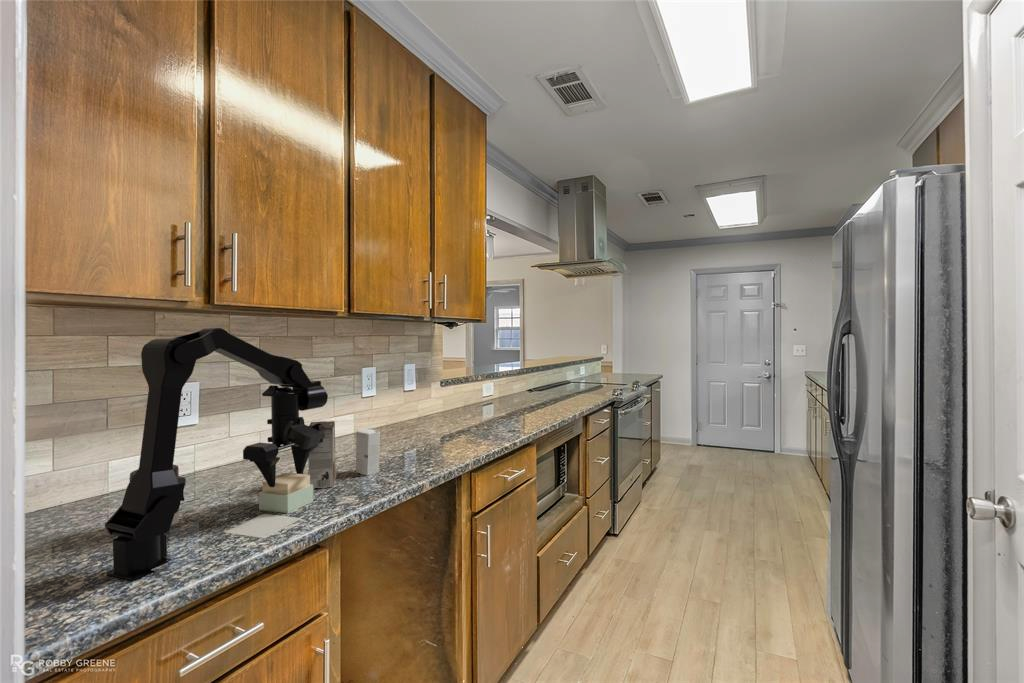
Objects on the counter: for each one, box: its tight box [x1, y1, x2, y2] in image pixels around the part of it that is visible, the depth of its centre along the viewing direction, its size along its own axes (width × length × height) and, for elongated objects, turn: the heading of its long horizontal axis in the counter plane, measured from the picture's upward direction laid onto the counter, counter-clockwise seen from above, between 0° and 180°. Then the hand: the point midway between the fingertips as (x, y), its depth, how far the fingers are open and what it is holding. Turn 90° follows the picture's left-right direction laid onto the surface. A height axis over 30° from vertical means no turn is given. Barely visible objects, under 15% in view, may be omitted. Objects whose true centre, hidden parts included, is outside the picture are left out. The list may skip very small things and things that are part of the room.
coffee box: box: [307, 420, 337, 490], centre depth 124 cm, size 9×6×16 cm
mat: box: [224, 513, 302, 539], centre depth 96 cm, size 10×10×1 cm
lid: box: [262, 472, 310, 495], centre depth 107 cm, size 7×7×2 cm
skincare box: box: [355, 428, 381, 477], centre depth 134 cm, size 6×4×12 cm
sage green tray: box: [258, 484, 314, 514], centre depth 107 cm, size 8×8×4 cm
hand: (286, 481), depth 107 cm, fingers open, 8 cm apart
